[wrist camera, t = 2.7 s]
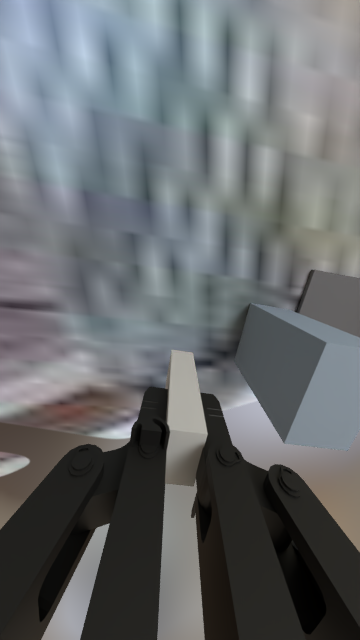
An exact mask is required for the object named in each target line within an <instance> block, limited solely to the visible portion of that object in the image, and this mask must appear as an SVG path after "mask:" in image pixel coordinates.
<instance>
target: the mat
mask: <svg viewBox="0 0 360 640" xmlns="http://www.w3.org/2000/svg"><path fill="white" fill-rule="evenodd" d="M296 313H299V314H301V315H304V316H306V317H309V318H311V319H314V320H316V321H319V322H322V323H324V324H327V325H329V326H332V327H334V328H337V329H339V330H342V331H344V332H347V333H349V334H352V335H354V336H357V337H359V338H360V278H355V277H350V276H345V275H339V274H334V273H328V272H323V271H317V270H311V273H310V276H309V279H308V282H307V284H306V287H305V290H304V293H303V296H302V298H301V301H300V304H299V307H298V310H297V312H296Z"/></svg>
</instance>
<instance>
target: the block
mask: <svg viewBox="0 0 360 640" xmlns="http://www.w3.org/2000/svg"><path fill="white" fill-rule="evenodd" d="M234 362H235V363H236V365H237V367H238V368H239V370H240V372H241V373H242V375H243V376H244V378H245V380H246V381H247V383H248V385H249V386H250V388H251V390H252V391H253V393H254V395H255V396H256V398H257V400H258V401H259V403H260V404H261V406H262V408H263V409H264V411H265V413H266V414H267V416H268V418H269V419H270V421H271V422H272V424H273V426H274V427H275V429H276V431H277V432H278V434H279V436H280V437H281V439H282V441H283V442H284V443H285V444H294V445H302V446H311V447H319V448H328V449H337V450H346V451H348V450H349V448H350V446H351V444H352V443H353V441H354V439H355V437H356V435H357V434H358V432H359V430H360V338H359V337H357V336H354V335H352V334H349V333H347V332H344V331H342V330H339V329H337V328H334V327H332V326H329V325H327V324H324V323H322V322H319V321H316V320H314V319H311V318H309V317H306V316H304V315H301V314H299V313H296V312H294V311H291V310H288V309H282V308H276V307H270V306H264V305H258V304H252V303H250V307H249V310H248V314H247V317H246V321H245V324H244V328H243V332H242V335H241V339H240V342H239V346H238V349H237V353H236V356H235V360H234Z"/></svg>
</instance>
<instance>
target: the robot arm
mask: <svg viewBox="0 0 360 640" xmlns="http://www.w3.org/2000/svg"><path fill="white" fill-rule="evenodd" d="M195 479H196V482H197V493H196V497H195V501H194V504H193V508H192V514H191V518H194V516H195V513H196V525H197V539H198V552H199V567H200V580H201V592H202V593H201V594H202V607H203V621H204V634H205V640H360V552H359V551H358V550H357V549H356V547H355V546H354V545H353V543H352V542H351V541H350V540H349V538H348V537H347V536H346V534H345V533H344V532H343V531H342V529H341V528H340V527H339V526H338V524H337V523H336V521H335V520H334V519H333V518H332V516H331V515H330V514H329V513H328V511H327V510H326V509H325V507H324V506H323V505H322V503H321V502H320V501H319V500H318V498H317V497H316V496H315V494H314V493H313V492H312V491H311V489H310V488H309V487H308V485H307V484H306V483H305V482H304V480H303V479H302V478H301V477H300V476H299V475H298V474H297V473H295V472H294V471H293V470H291V469H290V468H288V467H285V466H283V465H276V464H275V465H273V466H271V467H270V469H269V471H266V470H264V469H262V468H259V467H257V466H255V465H252V464H251V463H249V462H247V461H246V460H244V459H243V457H242V455H241V453H240V452H239V451H238V449H237V448H236V447H234V446H233V445H232V442H231V439H230V435H229V432H228V429H227V426H226V423H225V420H224V417H223V413H222V411H221V406H220V403H219V401H218V400H217V398H216V397H215V396H214V395H213V394H206V393H200V389H199V384H198V379H197V373H196V368H195V362H194V357H193V353H191V352H184V351H177V350H172V351H171V357H170V363H169V368H168V374H167V380H166V388H165V389H164V388H156V387H149V388H148V389H147V391H146V392H145V393H144V397H143V401H142V405H141V409H140V413H139V417H138V420H137V421H136V422H135V423H134V425H133V427H132V431H131V439H130V442H129V443H127V444H126V445H125V446H123V447H121V448H119V449H116V450H112V451H108V452H102V450H101V449H100V448H99V447H97V446H96V445H91V444H86V445H81V446H78V447H76V448H74V449H72V450H70V451H69V452H68V453H67V454H66V455H65V456H64V457H63V458H62V459H61V460H60V461H59V462H58V464H57V465H56V466H55V467H54V468H53V469H52V471H51V472H50V473H49V474H48V475H47V476H46V478H45V479H44V480H43V481H42V482H41V483H40V484H39V486H38V487H37V488H36V489H35V490H34V491H33V493H32V494H31V495H30V496H29V497H28V498H27V500H26V501H25V502H24V503H23V504H22V505H21V507H20V508H19V509H18V510H17V511H16V513H14V515H13V516H12V517H11V518H10V519H9V520H8V522H7V523H6V524H5V525H4V526H3V527H2V529H1V530H0V640H41V638H42V636H43V634H44V632H45V630H46V628H47V626H48V624H49V622H50V620H51V618H52V616H53V614H54V612H55V610H56V608H57V606H58V604H59V602H60V600H61V598H62V596H63V593H64V592H65V590H66V588H67V586H68V584H69V582H70V580H71V578H72V576H73V574H74V572H75V569H76V568H77V565H78V563H79V562H80V560H81V557H82V555H83V554H84V552H85V550H86V547H87V545H88V543H89V541H90V539H91V537H92V535H93V533H94V531H95V529H96V528H97V527H100V526H103V525H105V524H108V523H110V525H109V529H108V533H107V537H106V541H105V545H104V549H103V553H102V556H101V560H100V564H99V568H98V572H97V576H96V580H95V584H94V588H93V592H92V596H91V600H90V604H89V607H88V611H87V615H86V619H85V623H84V627H83V631H82V635H81V639H80V640H157V631H158V612H159V592H160V572H161V571H160V570H161V552H162V533H163V511H164V494H165V483H166V484H176V485H186V486H194V483H195Z"/></svg>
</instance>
